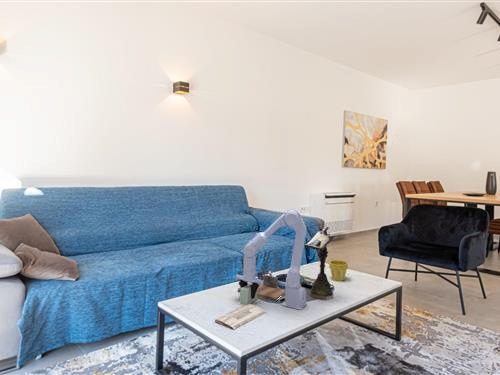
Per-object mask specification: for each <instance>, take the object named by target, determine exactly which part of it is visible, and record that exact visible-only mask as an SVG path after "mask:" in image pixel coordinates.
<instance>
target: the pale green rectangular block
mask: <svg viewBox="0 0 500 375" xmlns="http://www.w3.org/2000/svg"><path fill="white" fill-rule="evenodd" d="M249 283H250V282H249ZM251 284H252V283H250V284H248V285H246V286H244V287H242V288H240V287H239V288H240V292H239V293H240V295H239V303H240V304H241V305H247V304H252V303H253V302H254V301H256V300H258V297H257V291H256V294H255V298H253V299H251V288H250V285H251Z"/></svg>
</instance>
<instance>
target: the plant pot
mask: <svg viewBox="0 0 500 375" xmlns="http://www.w3.org/2000/svg"><path fill="white" fill-rule="evenodd" d="M328 265H329V266H328V268H329V269H330V273H331V278H332V280H333V281H337V282H342V281H345V278H346V274H347V270H348V268H349V264H348V262H347V261H344V260H340V259H339V260H338V259H337V260H335V259H333V260H330V261H329V264H328Z"/></svg>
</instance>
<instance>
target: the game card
mask: <svg viewBox="0 0 500 375" xmlns="http://www.w3.org/2000/svg"><path fill="white" fill-rule="evenodd" d="M272 273H273V272H272V271H271V270H267V271H266V270H265V271H260V272H256V276H257V277H256V278H258V279H260V280H263V275H268V276H273V274H272Z"/></svg>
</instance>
